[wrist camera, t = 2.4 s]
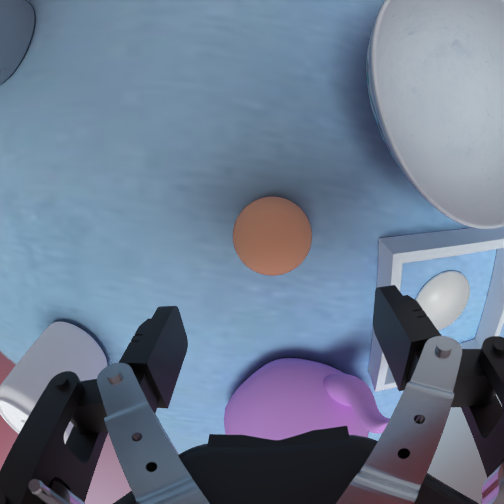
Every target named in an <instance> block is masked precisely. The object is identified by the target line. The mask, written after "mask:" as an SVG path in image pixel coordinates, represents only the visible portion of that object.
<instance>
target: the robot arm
mask: <svg viewBox="0 0 504 504" xmlns="http://www.w3.org/2000/svg"><path fill="white" fill-rule="evenodd" d="M34 20H35V15H34V9H33V8H32V6H31V4H30V3H28V2H27V1H26V0H0V84H2V83H3V82H4V81H5V80H7V79H8V78H9V77H10V75H11V74H12V73H13V72H14V71H15V69H16V68H17V66H18V65H19V63H20V62H21V60H22V58H23V56H24V54H25V53H26V50H27V48H28V45H29V43H30V40H31V37H32V34H33V29H34ZM373 328H374V333H375V335H376V338H377V340H378V342H379V345H380V347H381V349H382V351H383V354H384V356H385V358H386V361H387V363H388V366H389V368H390V370H391V373H392V375H393V378H394V380H395V383H396V385H397V388H398V390H399V391H402V390H404V392H403V394H402V396H401V398H400V400H399V402H398V404H397V406H396V408H395V410H394V412H393V414H392V416H391V418H390V420H389V422H388V424H387V426H386V428H385V430H384V431H383V433H382V435H381V437H380V439H379V440H378V441H376V440H373V439H370V438H367V437H363V436H357V435H349V432H348V427H347V426H341V427H334V428H327V429H319V430H312V431H309V432H306V433H303V434H300V435H296V436H293V437H289V438H286V439H282V440H270V439H264V438H258V437H253V436H247V435H215V434H210V436H209V441H208V444H203V445H200V446H196V447H194V448H191V449H189V450H187V451H185V452H183V453H181V454H178V452H177V451H176V449H175V447H174V446H173V444H172V442H171V441H170V439H169V437H168V436H167V434H166V432H165V431H164V429H163V427H162V425H161V423H160V422H159V420H158V418H157V416H156V414H155V412H156V409H157V408H168V406H169V403H170V400H171V397H172V394H173V391H174V388H175V385H176V382H177V379H178V376H179V373H180V370H181V366H182V363H183V361H184V358H185V355H186V352H187V346H188V342H187V336H186V332H185V329H184V326H183V322H182V319H181V316H180V312H179V309H178V307H177V306H164V307H158V308H157V310H156V312H155V313H154V315H153V317H152V319H147V320H146V321H145V322H144V323H143V324H141V325H140V326H139V328H138V330H137V331H136V333H135V336H134V337H133V338H132V340H131V342H130V343H129V345H128V347H127V349H126V351H125V352H124V354H123V356H122V358H121V359H120V361H119V363H115V364H111V365H109V366H107V367H105V368H104V369H103V370H102V371H101V372H100V373H99V374H98V377H97V379H92V380H86V381H80V379H79V378H78V376H77V374H76V373H74V372H71V371H65V372H61V373H59V374H57V375H56V376H54V377H53V378H52V379H51V380H50V382H49V383H48V385H47V386H46V388H45V390H44V391H43V393H42V395H41V396H40V398H39V400H38V401H37V403H36V405H35V406H34V408H33V410H32V412H31V413H30V415H29V417H28V419H27V420H26V422H25V424H24V426H23V428H22V429H21V431H20V433H19V435H18V437H17V439H16V441H15V443H14V444H13V446H12V448H11V450H10V452H9V454H8V456H7V458H6V460H5V462H4V464H3V466H2V468H1V470H0V504H85V503H84V502H85V499H86V495H87V492H88V489H89V486H90V483H91V480H92V476H93V474H94V471H95V467H96V465H97V462H98V459H99V456H100V453H101V450H102V448H103V444H104V442H105V439H106V436H107V434H108V433H109V436H110V438H111V441H112V444H113V447H114V449H115V452H116V455H117V457H118V460H119V462H120V465H121V467H122V469H123V472H124V474H125V477H126V479H127V481H128V483H129V486H130V488H131V490H132V491H131V492H129V493H128V494H126V495H125V496H123V497H122V498H121V499H119V500H118V501H116V502H115V503H113V504H478V503H477V502H475V501H474V500H472V499H470V498H468V497H466V496H465V495H463V494H461V493H459V492H458V491H456V490H454V489H453V488H451V487H449V486H448V485H446V484H444V483H443V482H441V481H439V480H438V479H436V478H434V477H432V476H431V475H430V474H428V473H427V471H428V469H429V466H430V464H431V462H432V459H433V457H434V454H435V452H436V449H437V446H438V444H439V441H440V438H441V436H442V433H443V430H444V427H445V424H446V421H447V418H448V415H449V412H450V408H451V407H461V408H462V411H463V413H464V415H465V418H466V420H467V423H468V425H469V427H470V430H471V433H472V435H473V438H474V440H475V443H476V446H477V449H478V451H479V454H480V457H481V460H482V463H483V466H484V468H485V472H486V475H487V479H486V481H485V482H484V484H483V487H482V499H481V503H482V504H504V338H503V337H499V336H492V337H488V338H487V339H485V340H484V342H483V344H482V347H481V349H462V347H461V345H460V344H459V343H458V342H457V341H456V340H454V339H452V338H450V337H446V336H441V334H440V333H439V331H438V330H437V329H436V327H435V326H434V324H433V323H432V321H431V320H430V319H429V317H428V316H427V314H426V313H425V312H424V310H422V307H421V306H420V305H419V303H418V302H417V301H416V300H414V299H413V298H411V297H410V296H408V295H406V296H402V294H401V293H400V291H399V290H398V288H397V287H396V286H395V285H390V286H383V287H377V288H376V292H375V304H374V315H373ZM496 394H497V396H498V398H499V400H500V401H501V403H502V407H501V405H500V403H499V401H498V399H497V397H496ZM502 408H503V409H502ZM70 421H71V423H72V424H73V425H74V426H73V428H72V430H71V432H70V435H69V437H68V439H67V441H66V444H65V443H64V433H65V431H66V429H67V426H68V424H69V422H70Z"/></svg>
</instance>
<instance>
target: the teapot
mask: <svg viewBox="0 0 504 504" xmlns="http://www.w3.org/2000/svg"><path fill="white" fill-rule="evenodd" d="M389 420H390V419H388V418H386V417H384V416H383V415H382V414H381V413H380V412H379V410H378V408H377V405H376V402H375V399H374V396H373V394H372V392H371V390H370V388H369V387H368V386H367V384H366V383H365V382H363V381H362V380H360V379H359V378H357V377H355V376H352V375H349V374H344V373H343V372H341V371H339V370H337V369H335V368H333V367H331V366H328V365H326V364H323V363H319V362H316V361H311V360H305V359H299V358H282V359H277V360H274V361H271V362H269V363H267V364H266V365H264V366H263V367H261V368H260V369H259V370H257V371H256V372H255V373H254V374H252V375H251V376H250V377H249V378H248V379H247V380H246V381H245V382H244V383H243V384H242V385H240V386H239V388H238V389H237V390H236V391H235V392H234V394H233V395H232V397H231V398H230V400H229V402H228V404H227V406H226V408H225V415H224V426H225V433H226V435H247V436H253V437H258V438H264V439H270V440H282V439H286V438H289V437H293V436H296V435H300V434H303V433H306V432H309V431H312V430H319V429H327V428H334V427H341V426H347V427H348V432H349V435H357V436H363V437H368V433H369V431H370V432H372V433H383V431H384V430H385V428H386V426H387V424H388V422H389Z"/></svg>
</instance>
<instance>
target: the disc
mask: <svg viewBox="0 0 504 504" xmlns="http://www.w3.org/2000/svg"><path fill="white" fill-rule="evenodd" d="M469 294H470V287H469V283H468V281H467V279H466V278H465V277H464V276H463V275H462V274H461V273H459V272H457V271H445V272H442V273H439V274H437V275H436V276H434V277H433V278H431V279H430V280H429V281H428V282H427V283H426V284H425V285H424V286H423V287H422V288H421V290H420V291H419V293H418V295H417V297H416V299H415V300H416V301H417V302H418V303H419V305H420V306H421V307H422V310H424V312H425V313H426V314H427V316H428V317H429V319H430V320H431V321H432V323H433V324H434V326H435V327H436V329H437V330H441V329H443V328H445V327H447V326H449V325H450V324H452V323H453V322H454V321H455V320H456V319H457V318H458V317H459V316H460V315H461V313H462V312H463V310H464V309H465V307H466V305H467V302H468V299H469Z"/></svg>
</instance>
